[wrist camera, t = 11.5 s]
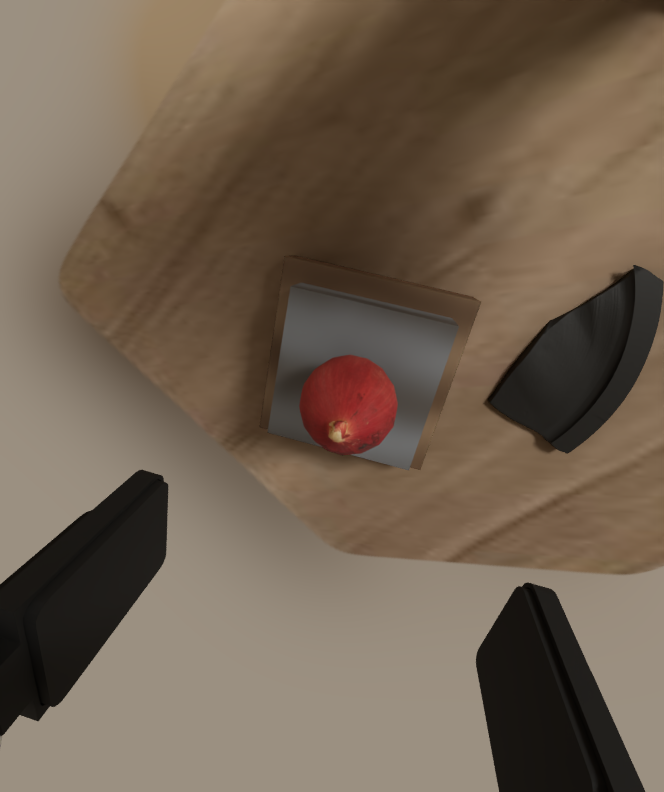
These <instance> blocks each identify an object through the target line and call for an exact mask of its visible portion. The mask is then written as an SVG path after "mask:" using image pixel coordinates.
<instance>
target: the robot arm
mask: <svg viewBox="0 0 664 792" xmlns="http://www.w3.org/2000/svg"><path fill="white" fill-rule="evenodd" d="M167 508H168V484H167V483H165V482H164V480H163V476H161V475H158V474H154V473H151V472H148V471H144V470H139V471H138V472H136V473H135V474H133V475H132V476H131V477H130V478H129V479H128V480H127V481H125V482H124V483H123V484H122V485H121V486H120V487H118V488H117V489H116V490H115V491H114V492H113V493H112V494H110V495H109V496H108V497H107V498H106V499H105V500H104V501H102V502H101V503H100V504H99V505H98V506H97V507H95V508H94V509H93V510H91V511H89V512H86V513H85V514H83V515H82V516H80V517H79V518H78V519H77V520H75V521H74V522H73V523H72V524H71V525H69V526H68V527H67V528H66V529H65V530H64V531H63V532H61V533H60V534H59V535H58V536H57V537H56V538H54V539H53V540H52V541H51V542H50V543H48V544H47V545H46V546H45V547H44V548H42V550H40V551H39V552H38V553H37V554H35V556H33V557H32V558H31V559H30V560H29V561H27V562H26V563H25V564H24V565H23V566H21V567H20V568H19V569H18V570H17V571H16V572H15V573H13V574H12V575H11V576H10V577H8V578H7V579H6V580H5V581H4V582H3V583H2V584H0V746H1V738H2V735H3V734H5V732H6V731H7V730H8V728H9V727H10V726H11V725H12V724H13V722H14V721H15V720H16V719H17V717H18V716H19V715H22V716H24V717H27V718H30V719H33V720H36V721H39V720H40V718H41V717H42V716H43V714H44V713H45V712H46V710H47V709H48V708H49V707H50V706H51V707H55V706H56V705H58V704H59V703H60V702H61V701H62V700H63V699H64V697H65V696H66V695H67V693H68V692H69V691H70V690H71V688H72V687H73V685H74V684H75V683H76V681H77V680H78V679H79V677H80V676H81V675H82V673H83V672H84V671H85V669H86V668H87V667H88V665H89V664H90V662H91V661H92V660H93V658H94V657H95V656H96V654H97V653H98V652H99V650H100V649H101V647H102V646H103V645H104V644H105V642H106V641H107V639H108V638H109V637H110V635H111V634H112V633H113V631H114V630H115V629H116V627H117V626H118V625H119V623H120V622H121V620H122V619H123V618H124V616H125V615H126V614H127V612H128V611H129V609H130V608H131V607H132V605H133V604H134V603H135V601H136V600H137V599H138V597H139V596H140V595H141V593H142V592H143V591H144V589H145V588H146V587H147V585H148V584H149V583H150V581H151V580H152V578H153V577H154V576H155V574H156V573H157V572H158V570H159V569H160V567H161V566H162V564H163V562H164V559H165V557H166V540H167V510H168V509H167ZM476 667H477V672H478V678H479V683H480V689H481V694H482V700H483V705H484V711H485V716H486V722H487V727H488V733H489V738H490V744H491V749H492V755H493V760H494V766H495V771H496V777H497V782H498V787H499V792H645V790H644V788H643V785H642V783H641V781H640V779H639V777H638V774H637V772H636V770H635V768H634V765H633V764H632V761H631V759H630V757H629V754H628V752H627V750H626V748H625V745H624V743H623V741H622V739H621V737H620V734H619V732H618V730H617V728H616V725H615V723H614V721H613V719H612V717H611V714H610V712H609V710H608V708H607V705H606V703H605V701H604V699H603V697H602V694H601V692H600V690H599V688H598V685H597V683H596V681H595V679H594V676H593V674H592V672H591V671H590V669H589V666H588V664H587V662H586V660H585V657H584V655H583V653H582V651H581V648H580V646H579V644H578V642H577V640H576V637H575V635H574V633H573V630H572V628H571V626H570V624H569V622H568V620H567V617H566V615H565V613H564V610H563V608H562V606H561V604H560V602H559V599H558V597H557V595H556V593H555V592H554V591H553V590H552V589H549V588H545V587H542V586H538V585H534V584H531V583H525V584H524V585H523V586H522V587H520V586H519V587H517V588H516V589H515V590H514V592H513V593H512V595H511V597H510V598H509V600H508V602H507V603H506V605H505V606H504V608H503V610H502V611H501V613H500V615H499V616H498V618H497V620H496V621H495V623H494V625H493V626H492V628H491V630H490V631H489V633H488V634H487V636H486V638H485V639H484V641H483V643H482V644H481V646H480V648H479V649H478V652H477V656H476Z"/></svg>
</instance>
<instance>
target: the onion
mask: <svg viewBox="0 0 664 792" xmlns="http://www.w3.org/2000/svg"><path fill="white" fill-rule="evenodd" d="M397 406H398V402H397V397H396V393H395V388H394V385H393V384H392V382H391V381H390V379H389V378H388V376H387V375H386V373H385V372H384V370H383V369H382V368H381V367H380V366H378V365H377V364H375V363H374V362H372V361H371V360H369V359H367V358H363V357H359V356H354V355H345V356H339V357H333V358H331V359H330V360H328V361H326V362H325V363H323V364H322V365H320V366H318V367H317V368H316V369H315V370H314V371H313V372H312V373H311V375H310V376H309V378H308V379H307V380H306V382H305V383H304V386H303V389H302V393H301V399H300V404H299V408H300V413H301V417H302V421H303V425H304V427H305V429H306V430H307V432H308V433H309V435H310V436H311V437H312V439H313V440H314V441H315V442H316V443H317V444H319V445H320V446H322V447H323V448H324V449H326V450H327V451H331V452H334V453H337V454H340V455H350V454H361V453H363V452H366V451H368V450H370V449H372V448H374V447H376V446H378V445H379V444H380V443H381V442H382V441H383V440H384V438H385V437H386V436H387V435H388V433H389V432H390V431H391V429H392V428H393V427H394V422H395V417H396V412H397Z"/></svg>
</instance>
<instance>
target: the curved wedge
mask: <svg viewBox="0 0 664 792" xmlns="http://www.w3.org/2000/svg"><path fill="white" fill-rule="evenodd" d="M633 266H634V269H633V270H631V271H630V272H629V273H628V274H627V275H626V276H624V277H623V278H622V279H620V280H619V281H617V282H616V283H615V284H613V285H612V286H610V287H609V288H608V289H607V290H605V291H604V292H602V293H601V294H599V295H597V296H596V297H594V298H592V299H591V300H589V301H587V302H585V303H584V304H582V305H580V306H578V307H577V308H575V309H573V310H571V311H569V312H567V313H565V314H563V315H561V316H559V317H557V318H555V319H553V320H550V321H549V322H548V324H547V325H546V326H545V327H544V328H543V330H542V331H541V332H540V333H539V334H538V335H537V337H536V338H535V339H534V340H533V341H532V343H531V344H530V345H529V346H528V347H527V348H526V349H525V350H524V352H523V353H522V354H521V355H520V357H519V358H518V359H517V360H516V362H515V363H514V364H513V366H512V367H511V368H510V369H509V371H508V372H507V374H506V375H505V377H504V378H503V380H502V381H501V383H500V384H499V385H498V386H497V388H496V390H495V391H494V392H493V394H492V395H491V396H490V397H489V398H488V400H489V403H490V404H492V405H493V406H494V407H495V408H496V409H497V410H499V411H500V412H501V413H503V414H504V415H506V416H507V417H509V418H510V419H512V420H514V421H516V422H518V423H520V424H522V425H524V426H526V427H528V428H530V429H532V430H534V431H536V432H538V433H539V434H540V435H542V436H543V437H544V438H545V440H546V441H548V442H549V443H550V444H551V445H552V446H554V447H555V448H556V449H558V450H559V451H562V452H565V453H569V452H571V451H572V450H574V449H575V448H576V447H578V446H579V445H580V444H582V443H583V442H584V441H585V440H587V439H588V438H589V437H590V436H591V435H592V434H594V433H595V432H596V431H597V430H598V429H599V428H600V427H601V426H602V425H603V424H604V423H605V422H606V421H607V420H608V419H609V418H610V417H611V415H612V414H613V413H614V412H615V411H616V410H617V408H618V407H619V406H620V405H621V403H622V402H623V401H624V399H625V398H626V396H627V395H628V393H629V392H630V390H631V389H632V387H633V385H634V384H635V382H636V380H637V378H638V376H639V374H640V372H641V370H642V368H643V366H644V364H645V361H646V359H647V357H648V354H649V351H650V349H651V346H652V343H653V340H654V337H655V333H656V330H657V326H658V322H659V318H660V312H661V305H662V296H663V281H662V280H661V279H659V278H658V277H656V276H655V275H653V274H652V273H651V272H650V271H648V270H646V269H644V268H642V267H639V266H636V265H633Z"/></svg>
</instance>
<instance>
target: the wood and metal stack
mask: <svg viewBox="0 0 664 792" xmlns="http://www.w3.org/2000/svg"><path fill="white" fill-rule="evenodd" d="M480 304H481V301H479V300H477V299H475V298H474V297H471V296H467V295H462V294H458V293H454V292H450V291H445V290H441V289H437V288H432V287H428V286H424V285H419V284H415V283H411V282H407V281H402V280H398V279H394V278H389V277H385V276H381V275H376V274H372V273H368V272H363V271H359V270H355V269H351V268H346V267H342V266H338V265H333V264H329V263H325V262H320V261H316V260H312V259H308V258H303V257H299V256H285V258H284V264H283V271H282V278H281V285H280V292H279V299H278V305H277V312H276V319H275V326H274V333H273V340H272V346H271V353H270V360H269V367H268V374H267V380H266V387H265V394H264V401H263V408H262V415H261V421H260V427H261V428H265V429H268V433H271V434H275V435H279V436H282V437H286V438H290V439H294V440H297V441H301V442H305V443H309V444H312V445H316V446H320V445H319V444H317V443H316V442H315V441H314V440H313V439H312V437H311V436H310V435H309V433H308V432H307V430H306V429H305V427H304V425H303V421H302V417H301V413H300V408H299V404H300V399H301V393H302V389H303V386H304V383H305V382H306V380H307V379H308V378H309V376H310V375H311V373H312V372H313V371H314V370H315V369H316V368H317V367H318V366H320V365H322V364H323V363H325V362H326V361H328V360H330V359H331V358H333V357H339V356H345V355H354V356H359V357H363V358H367V359H369V360H371V361H372V362H374V363H375V364H377V365H378V366H380V367H381V368H382V369H383V370H384V372H385V373H386V375H387V376H388V378H389V379H390V381H391V382H392V384H393V385H394V388H395V393H396V397H397V402H398V406H397V412H396V417H395V422H394V427H393V428H392V429H391V431H390V432H389V433H388V435H387V436H386V437H385V438H384V440H383V441H382V442H381V443H380V444H379V445H378V446H376V447H374V448H372V449H370V450H368V451H366V452H363V453H361V454H350V455H353V456H357V457H361V458H365V459H368V460H372V461H376V462H380V463H383V464H387V465H391V466H394V467H398V468H402V469H406V470H409V469H410V467H411V468H414V469H418V470H420V469H421V466H422V464H423V461H424V458H425V455H426V453H427V450H428V447H429V444H430V442H431V439H432V436H433V433H434V431H435V428H436V425H437V422H438V420H439V417H440V414H441V411H442V409H443V406H444V403H445V400H446V398H447V395H448V392H449V389H450V387H451V384H452V381H453V378H454V376H455V373H456V370H457V367H458V365H459V362H460V359H461V356H462V354H463V351H464V348H465V345H466V343H467V340H468V337H469V334H470V332H471V329H472V326H473V323H474V321H475V318H476V315H477V312H478V310H479V307H480ZM320 447H322V446H320Z"/></svg>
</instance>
